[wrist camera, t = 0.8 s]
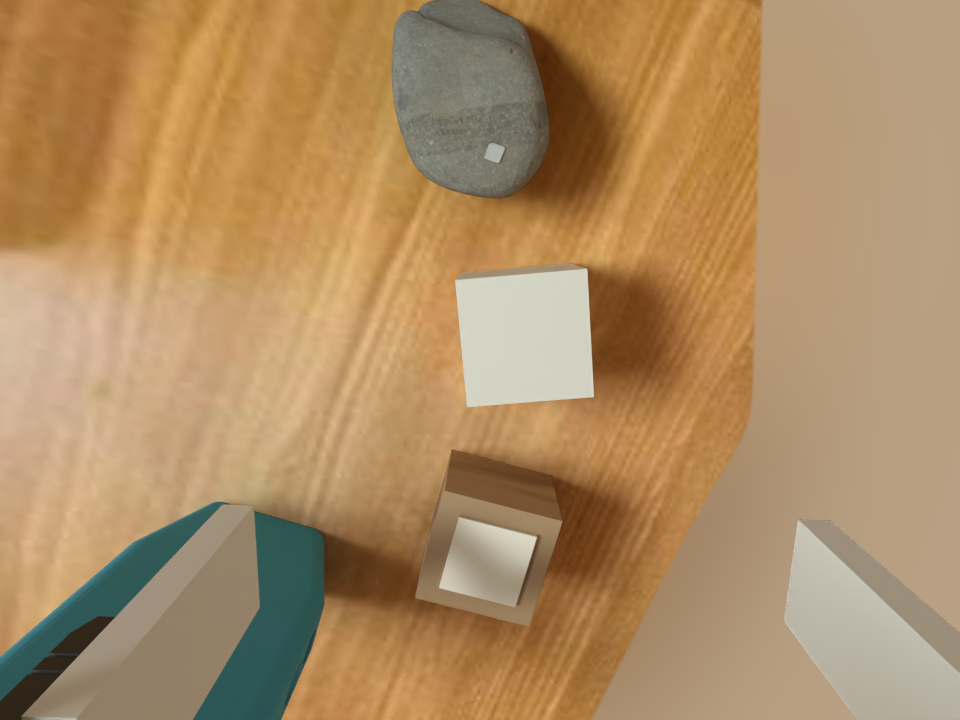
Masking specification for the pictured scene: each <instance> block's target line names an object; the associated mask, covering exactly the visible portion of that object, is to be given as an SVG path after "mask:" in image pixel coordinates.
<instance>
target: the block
mask: <svg viewBox="0 0 960 720" xmlns="http://www.w3.org/2000/svg"><path fill="white" fill-rule="evenodd" d="M221 505H230V504H226V503H223V502H215V503H212V504H210V505H208V506H206V507H204V508H202V509H200V510H198V511H196V512H194V513H192V514H190V515H188V516H186V517H184V518H182V519H180V520H178V521H176V522H174V523H172V524H170V525H168V526H166V527H163V528H161V529H159V530H157V531H155V532H153V533H151V534H149V535H147V536H145V537H143V538H141V539H139V540H137V541H135V542H134V543H132V544H131V545H130V546H129V547H127V548H126V549H125V550H124V551H123V552H122V553H120V554H119V555H118V556H117V557H116V558H115V559H113V560H112V561H111V562H110V563H109V564H108V565H106V566H105V567H104V568H103V569H102V570H101V571H100V572H98V573H97V574H96V575H95V576H94V577H93V578H91V579H90V580H89V581H88V582H87V583H86V584H84V585H83V586H82V587H81V588H80V589H79V590H77V591H76V592H75V593H74V594H73V595H72V596H70V597H69V598H68V599H67V600H66V601H65V602H63V603H62V604H61V605H60V606H59V607H58V608H57V609H55V610H54V611H53V612H52V613H51V614H50V615H48V616H47V617H46V618H45V619H44V620H43V621H41V622H40V623H39V624H38V625H37V626H36V627H34V628H33V629H32V630H31V631H30V632H29V633H27V634H26V635H25V636H24V637H23V638H22V639H20V640H19V641H18V642H17V643H16V644H15V645H14V646H12V647H11V648H10V649H9V650H8V651H7V652H5V653H4V654H3V655H2V656H1V657H0V701H1V700H2V699H3V698H4V697H5V696H6V695H7V694H8V693H9V692H10V691H11V690H12V689H13V688H14V687H15V686H16V685H17V684H18V683H19V682H20V681H21V680H22V679H23V678H24V677H25V676H26V675H27V674H31V673H32V670H33V669H34V668H35V667H36V666H37V665H38V664H39V663H40V662H41V661H42V660H43V659H44V658H45V657H49V653H50V652H51V651H52V650H53V649H54V648H55V647H56V646H57V645H58V644H59V643H60V642H61V641H62V640H63V639H64V638H65V637H66V636H67V635H68V634H69V633H71V632H73V631H74V630H76V629H78V628H79V627H81V626H83V625H84V624H86V623H88V622H89V621H91V620H93V619H94V618H96V617H98V616H108V617H116V616H117V615H118V614H119V613H120V612H121V611H122V610H123V609H124V608H125V607H126V606H127V604H128V603H129V602H130V601H131V600H132V599H133V598H134V597H135V596H136V595H137V594H138V593H139V592H140V591H141V590H142V589H143V588H144V587H145V586H146V584H147V583H148V582H149V581H150V580H151V579H152V578H153V577H154V576H155V575H156V574H157V573H158V572H159V571H160V570H161V569H162V568H163V567H164V566H165V564H166V563H167V562H168V561H169V560H170V559H171V558H172V557H173V556H174V555H175V554H176V553H177V552H178V551H179V550H180V549H181V548H182V547H183V546H184V544H185V543H186V542H187V541H188V540H189V539H190V538H191V537H192V536H193V535H194V534H195V533H196V532H197V531H198V530H199V529H200V528H201V527H202V526H203V524H204V523H205V522H206V521H207V520H208V519H209V518H210V517H211V516H212V515H213V514H214V513H215V512H216V511H217V510H218V509H219V508H220V507H221ZM254 517H255V534H256V550H257V566H258V583H259V599H260V608H259V610H258V611H257V613H256V615H255V616H254V618H253V620H252V621H251V623H250V625H249V626H248V628H247V630H246V631H245V633H244V635H243V636H242V638H241V640H240V641H239V643H238V645H237V646H236V648H235V650H234V651H233V653H232V655H231V656H230V658H229V660H228V661H227V663H226V665H225V666H224V668H223V670H222V672H221V673H220V675H219V677H218V678H217V680H216V682H215V683H214V685H213V687H212V688H211V690H210V692H209V693H208V695H207V697H206V698H205V700H204V702H203V703H202V705H201V707H200V708H199V710H198V712H197V713H196V715H195V717H194V718H193V720H281V718H282V716H283V714H284V712H285V709H286V707H287V705H288V702H289V700H290V698H291V695H292V693H293V691H294V688H295V686H296V684H297V681H298V679H299V677H300V674H301V672H302V670H303V668H304V665H305V663H306V661H307V658H308V656H309V654H310V651H311V649H312V646H313V642H314V639H315V635H316V632H317V628H318V625H319V621H320V617H321V614H322V610H323V607H324V538H323V535H322V534H321V533H320V532H319V531H318V530H316V529H314V528H310V527H307V526H303V525H300V524H296V523H293V522H289V521H286V520H282V519H279V518H275V517H272V516H268V515H265V514H261V513H258V512H254Z"/></svg>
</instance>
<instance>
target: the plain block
mask: <svg viewBox="0 0 960 720" xmlns="http://www.w3.org/2000/svg"><path fill="white" fill-rule="evenodd" d="M455 283H456V294H457V305H458V316H459V326H460V337H461V348H462V358H463V369H464V380H465V391H466V401H467V407H475V406H487V405H500V404H513V403H525V402H538V401H550V400H563V399H576V398H588V397H594V387H593V368H592V349H591V330H590V311H589V291H588V272H587V268H584V267H581V266H578V265H575V264H572V263H567V264H555V265H543V266H532V267H520V268H509V269H497V270H485V271H474V272H462V273H460V275H459V276H458V277H457V278H456V280H455Z"/></svg>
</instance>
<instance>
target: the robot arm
mask: <svg viewBox="0 0 960 720" xmlns="http://www.w3.org/2000/svg"><path fill="white" fill-rule="evenodd" d="M259 608H260V599H259V583H258V566H257V550H256V534H255V517H254V505H221V507H220V508H219V509H218V510H217V511H216V512H215V513H214V514H213V515H212V516H211V517H210V518H209V519H208V520H207V521H206V522H205V523H204V524H203V526H202V527H201V528H200V529H199V530H198V531H197V532H196V533H195V534H194V535H193V536H192V537H191V538H190V539H189V540H188V541H187V542H186V543H185V544H184V546H183V547H182V548H181V549H180V550H179V551H178V552H177V553H176V554H175V555H174V556H173V557H172V558H171V559H170V560H169V561H168V562H167V563H166V564H165V566H164V567H163V568H162V569H161V570H160V571H159V572H158V573H157V574H156V575H155V576H154V577H153V578H152V579H151V580H150V581H149V582H148V583H147V584H146V586H145V587H144V588H143V589H142V590H141V591H140V592H139V593H138V594H137V595H136V596H135V597H134V598H133V599H132V600H131V601H130V602H129V603H128V604H127V606H126V607H125V608H124V609H123V610H122V611H121V612H120V613H119V614H118V615H117V616H116V617H108V616H98V617H96V618H94V619H93V620H91V621H89V622H88V623H86V624H84V625H83V626H81V627H79V628H78V629H76V630H74V631H73V632H71V633H69V634H68V635H67V636H66V637H65V638H64V639H63V640H62V641H61V642H60V643H59V644H58V645H57V646H56V647H55V648H54V649H53V650H52V651H51V652H50V653H49V657H45V658H44V659H43V660H42V661H41V662H40V663H39V664H38V665H37V666H36V667H35V668H34V669H33V670H32V673H31V674H27V675H26V676H25V677H24V678H23V679H22V680H21V681H20V682H19V683H18V684H17V685H16V686H15V687H14V688H13V689H12V690H11V691H10V692H9V693H8V694H7V695H6V696H5V697H4V698H3V699H2V700H1V701H0V720H193V718H194V717H195V715H196V713H197V712H198V710H199V708H200V707H201V705H202V703H203V702H204V700H205V698H206V697H207V695H208V693H209V692H210V690H211V688H212V687H213V685H214V683H215V682H216V680H217V678H218V677H219V675H220V673H221V672H222V670H223V668H224V666H225V665H226V663H227V661H228V660H229V658H230V656H231V655H232V653H233V651H234V650H235V648H236V646H237V645H238V643H239V641H240V640H241V638H242V636H243V635H244V633H245V631H246V630H247V628H248V626H249V625H250V623H251V621H252V620H253V618H254V616H255V615H256V613H257V611H258V610H259ZM784 622H785V623H786V625H787V626H788V628H789V629H790V630H791V632H792V633H793V634H794V636H795V637H796V638H797V640H798V641H799V642H800V644H801V645H802V646H803V648H804V649H805V650H806V652H807V653H808V654H809V656H810V657H811V659H812V660H813V661H814V663H815V664H816V665H817V667H818V668H819V669H820V671H821V672H822V673H823V675H824V676H825V677H826V679H827V680H828V681H829V683H830V684H831V685H832V687H833V688H834V689H835V690H836V692H837V693H838V695H839V696H840V697H841V699H842V700H843V701H844V703H845V704H846V706H847V707H848V708H849V710H850V711H851V712H852V714H853V715H854V716H855V718H856V719H857V720H960V632H959V631H957V630H956V629H955V628H954V627H953V626H952V625H950V624H949V623H948V622H947V621H946V620H945V619H944V618H942V617H941V616H940V615H939V614H938V613H937V612H935V611H934V610H933V609H932V608H931V607H929V605H927V604H926V603H925V602H924V601H923V600H922V599H920V598H919V597H918V596H917V595H916V594H915V593H914V592H912V591H911V590H910V589H909V588H908V587H907V586H905V585H904V584H903V583H902V582H901V581H900V580H899V579H897V578H896V577H895V576H894V575H893V574H892V573H890V572H889V571H888V570H887V569H886V568H884V566H882V565H881V564H880V563H879V562H878V561H876V560H875V559H874V558H873V557H872V556H871V555H870V554H868V553H867V552H866V551H865V550H864V549H863V548H862V547H860V546H859V545H858V544H857V543H856V542H855V541H853V540H852V539H851V538H850V537H849V536H848V535H847V534H845V533H844V532H843V531H842V530H841V529H840V528H838V527H837V526H836V525H835V524H834V523H833V522H831V521H830V520H802V519H799V520H798V524H797V531H796V538H795V545H794V552H793V560H792V566H791V573H790V581H789V588H788V595H787V602H786V609H785V616H784Z"/></svg>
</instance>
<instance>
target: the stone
mask: <svg viewBox="0 0 960 720" xmlns="http://www.w3.org/2000/svg"><path fill="white" fill-rule="evenodd" d="M392 53H393V57H392V86H393V95H394V103H395V110H396V115H397V119H398V123H399V127H400V130H401V133H402V135H403V138H404V141H405V144H406V147H407V150H408V152H409V155H410V157H411V159H412V161H413V163H414V165H415V166H416V168H417V169H418V170H419V171H420V172H421V173H422V174H423V175H424V176H425V177H427V178H428V179H429V180H431V181H432V182H434V183H436V184H438V185H440V186H442V187H445V188H447V189H450V190H452V191H456V192H459V193H463V194H467V195H472V196H478V197H485V198H505V197H508V196H510V195H512V194H514V193H515V192H517V191H518V190H519V189H521V188H522V187H523V186H525V185H526V184H527V183H528V182H529V181H530V179H531V178H532V177H533V175H534V174H535V173H536V171H537V170H538V169H539V167H540V165H541V163H542V161H543V158H544V155H545V153H546V151H547V146H548V142H549V133H550V131H549V119H548V112H547V105H546V99H545V94H544V90H543V85H542V82H541V78H540V74H539V70H538V67H537V63H536V60H535V56H534V53H533V49H532V46H531V42H530V39H529V36H528V33H527V31H526V28H525V26H524V25H523V24H522V23H521V22H520V21H519V20H518V19H516V18H514V17H511V16H507V15H505V14H502V13H501V12H500V11H498V10H497V9H495V8H493V7H492V6H490V5H488V4H486V3H483V2H481V1H479V0H434V1H430V2H428V3H426V4H424V5H423V6H422V7H421V8H420V9H419V10H418V11H413V10H411V11H406V12H404V13H402V14H401V15H400V17H399V18H398V20H397V22H396V25H395V29H394V35H393V49H392Z"/></svg>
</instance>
